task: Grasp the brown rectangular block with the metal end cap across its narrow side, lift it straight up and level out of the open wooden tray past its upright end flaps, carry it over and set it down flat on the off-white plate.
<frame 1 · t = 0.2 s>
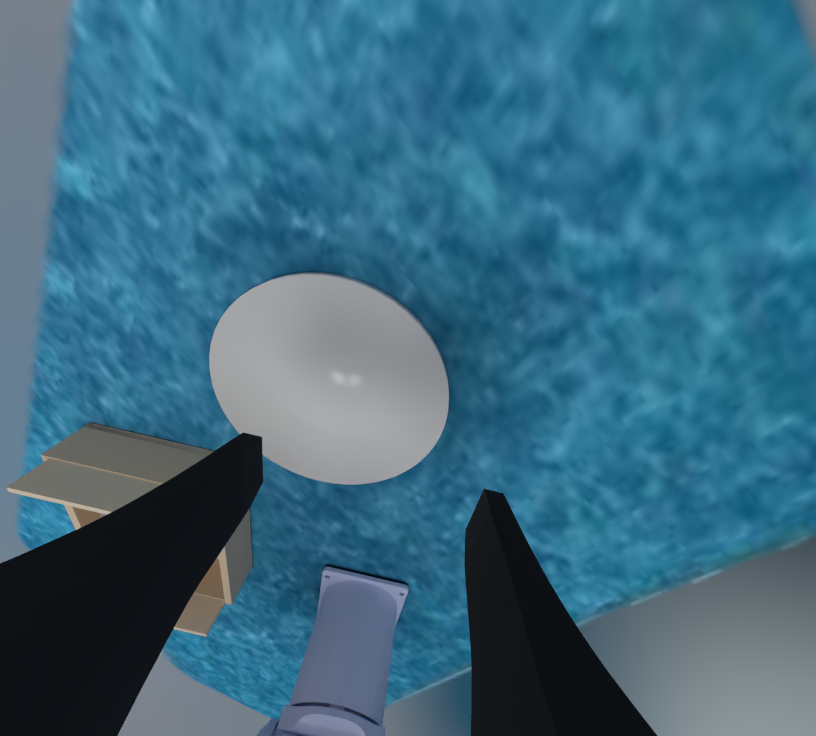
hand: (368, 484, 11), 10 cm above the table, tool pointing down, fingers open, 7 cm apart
wooden tray: (181, 502, 29), on the table
plate: (331, 390, 21), on the table
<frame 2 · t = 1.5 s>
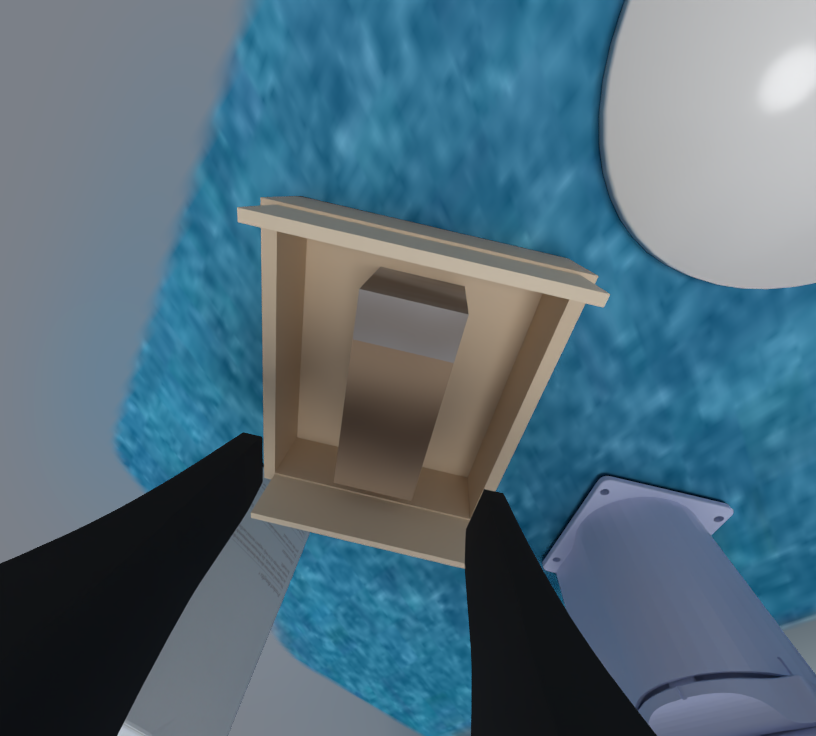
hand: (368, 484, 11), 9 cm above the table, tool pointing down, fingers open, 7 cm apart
supplement box: (252, 503, 26), on the table
wooden tray: (403, 364, 18), on the table
brown rectangular block: (401, 368, 18), resting on wooden tray
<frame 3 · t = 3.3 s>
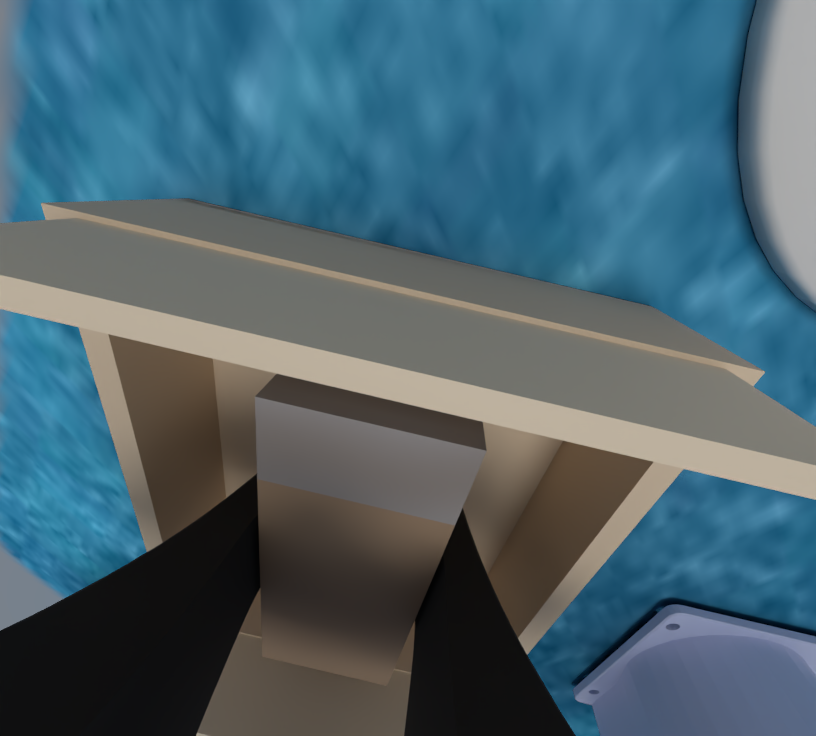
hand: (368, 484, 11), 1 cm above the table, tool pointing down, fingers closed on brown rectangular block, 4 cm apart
wooden tray: (376, 454, 12), on the table
brown rectangular block: (374, 464, 11), resting on wooden tray, touching gripper
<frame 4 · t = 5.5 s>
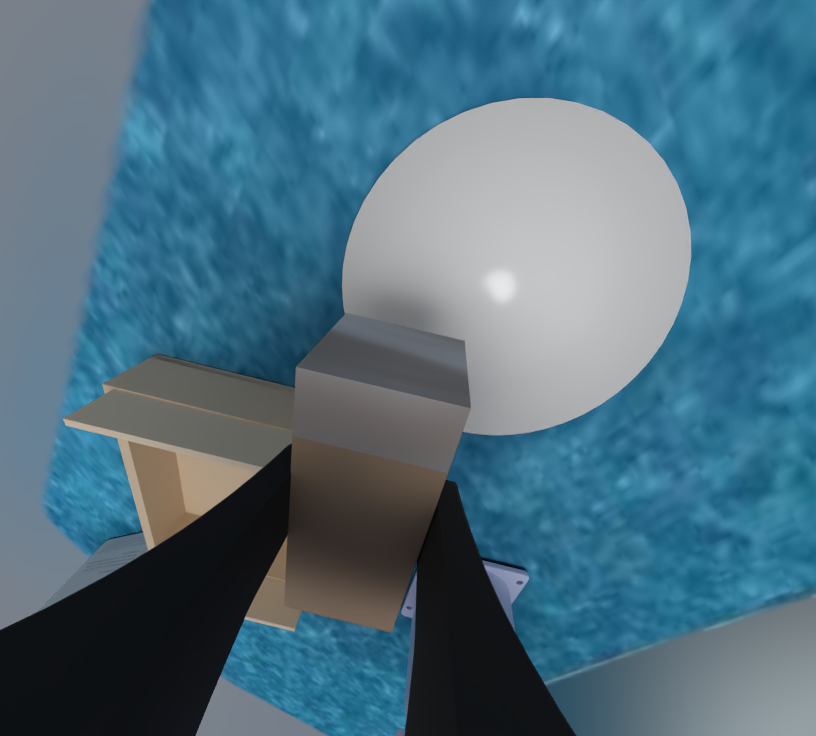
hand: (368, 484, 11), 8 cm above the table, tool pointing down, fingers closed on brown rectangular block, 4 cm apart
supplement box: (164, 556, 30), on the table
wooden tray: (257, 464, 23), on the table
plate: (500, 300, 16), on the table
brown rectangular block: (380, 442, 13), point 6 cm above the table, touching gripper
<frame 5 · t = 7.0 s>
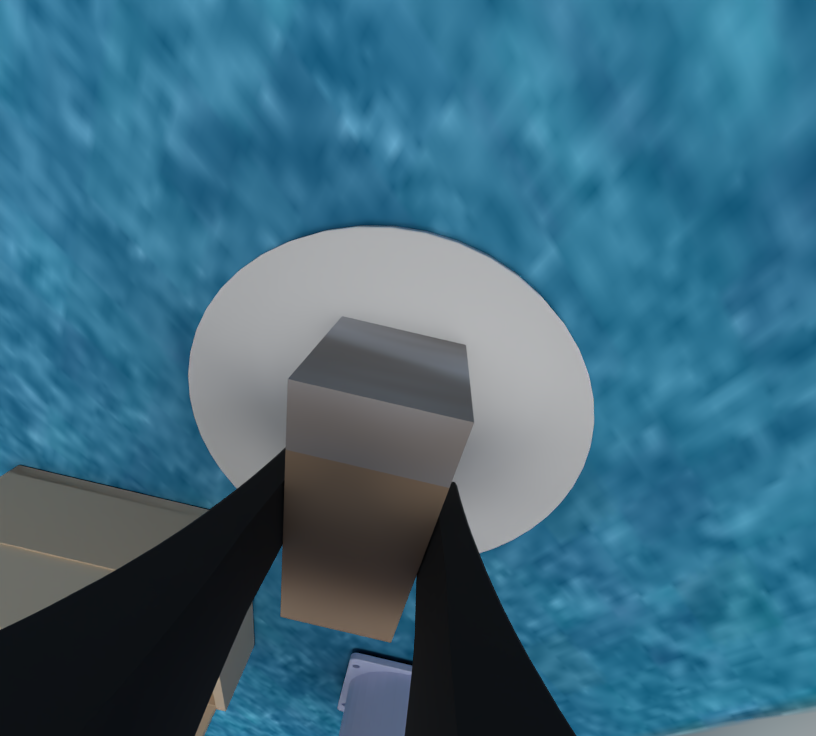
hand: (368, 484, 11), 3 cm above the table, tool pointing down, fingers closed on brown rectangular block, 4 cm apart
wooden tray: (156, 569, 21), on the table
plate: (384, 427, 13), on the table
brown rectangular block: (379, 448, 13), point 1 cm above the table, touching gripper, plate
when the fingers open (3 cm above the table, at t = 7.8 s): brown rectangular block stays where it is, resting on plate.
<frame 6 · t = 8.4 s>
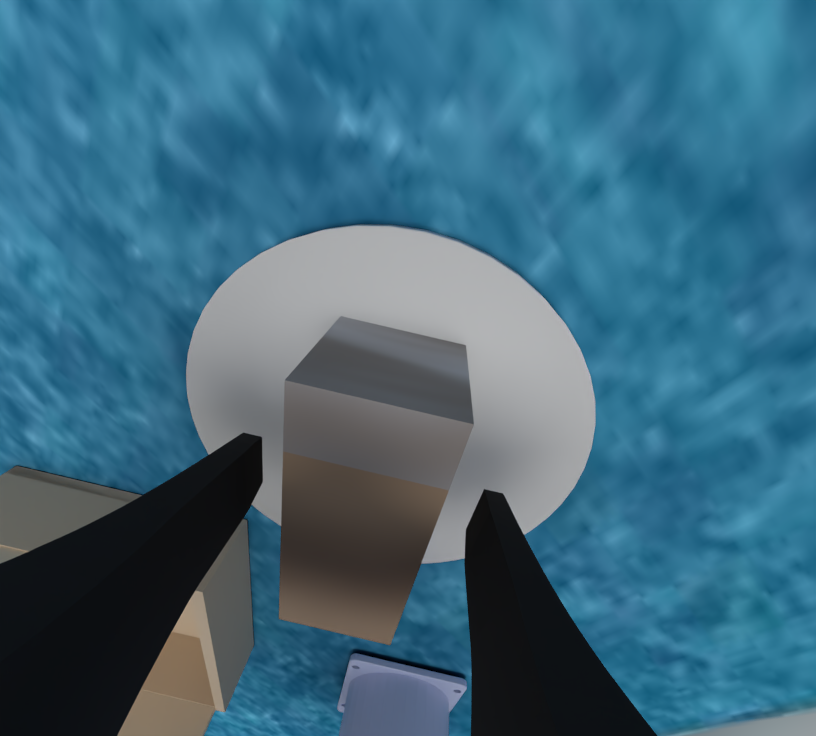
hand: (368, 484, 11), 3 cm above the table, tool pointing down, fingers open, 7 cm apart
wooden tray: (154, 570, 21), on the table
plate: (384, 428, 13), on the table
brown rectangular block: (378, 449, 13), point 1 cm above the table, touching plate
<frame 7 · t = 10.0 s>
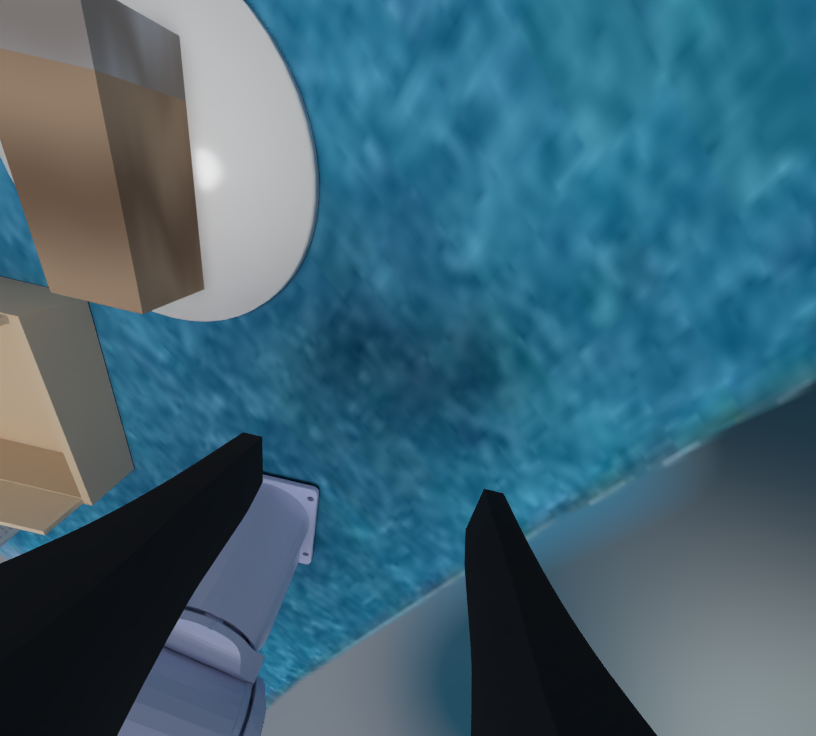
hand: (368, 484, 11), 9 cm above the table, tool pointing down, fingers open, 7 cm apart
wooden tray: (27, 375, 23), on the table
plate: (163, 164, 16), on the table
brown rectangular block: (151, 172, 15), point 1 cm above the table, touching plate
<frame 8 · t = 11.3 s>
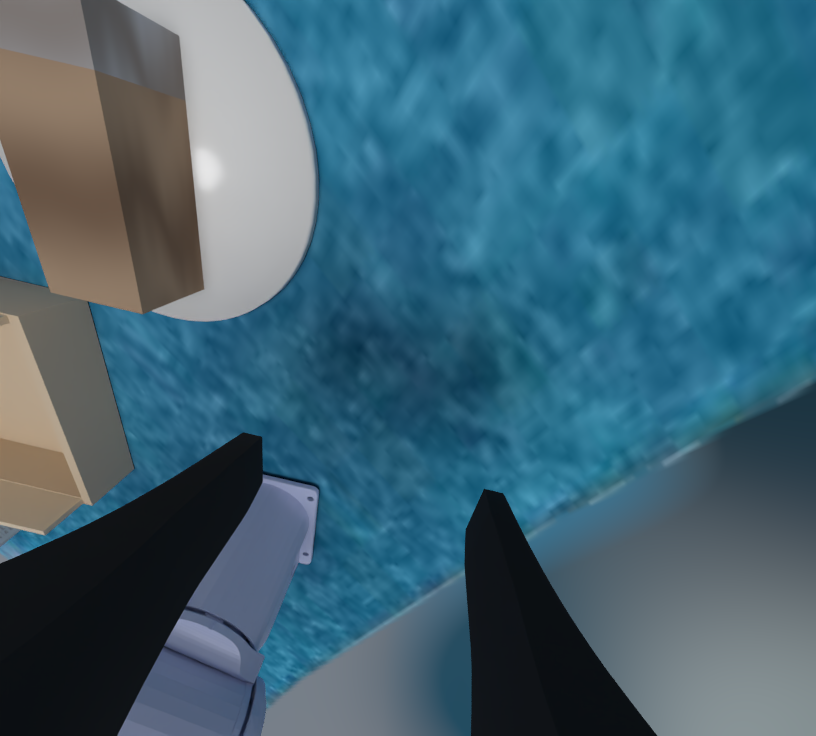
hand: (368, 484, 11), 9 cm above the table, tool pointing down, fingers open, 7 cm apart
wooden tray: (27, 375, 23), on the table
plate: (163, 164, 16), on the table
brown rectangular block: (151, 172, 15), point 1 cm above the table, touching plate
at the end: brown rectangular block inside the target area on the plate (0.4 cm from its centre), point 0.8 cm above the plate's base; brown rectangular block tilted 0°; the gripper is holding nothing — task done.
